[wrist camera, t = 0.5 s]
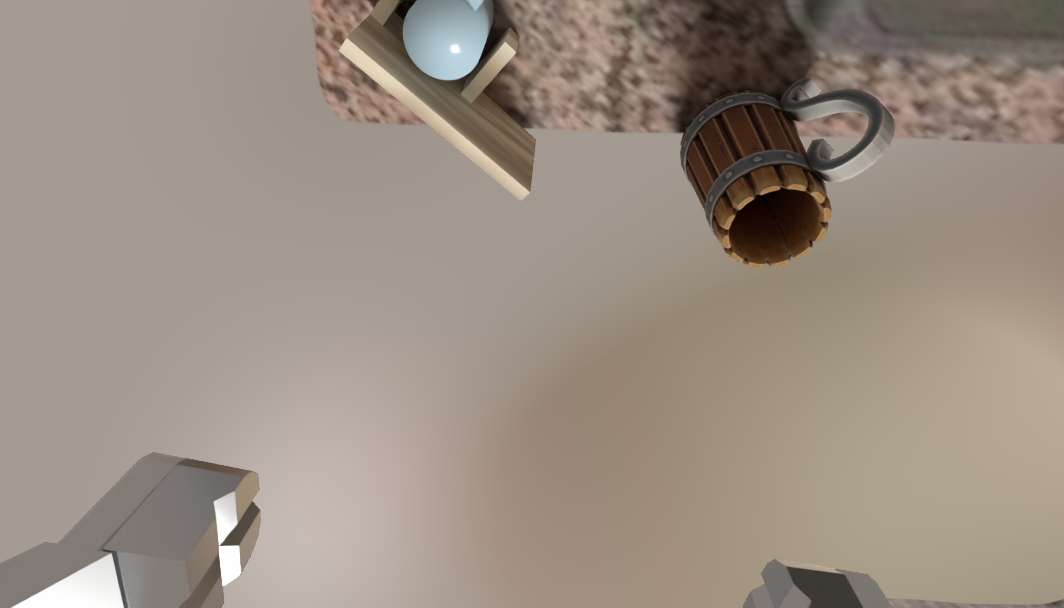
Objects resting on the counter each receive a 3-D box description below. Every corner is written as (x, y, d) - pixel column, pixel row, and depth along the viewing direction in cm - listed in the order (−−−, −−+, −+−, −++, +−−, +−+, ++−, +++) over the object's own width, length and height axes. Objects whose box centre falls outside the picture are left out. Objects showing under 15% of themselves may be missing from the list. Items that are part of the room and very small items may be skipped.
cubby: (423, -60, 43) (392, -33, 36) (579, 96, 51) (580, 146, 43) (375, 12, 47) (338, 50, 39) (527, 147, 54) (520, 200, 47)
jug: (475, -82, 42) (460, -63, 36) (532, -21, 44) (526, 5, 38) (410, 11, 46) (387, 40, 41) (465, 61, 49) (450, 96, 43)
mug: (725, 205, 58) (760, 299, 47) (655, 148, 54) (676, 236, 43) (863, 92, 49) (948, 174, 38) (793, 13, 45) (864, 80, 34)
